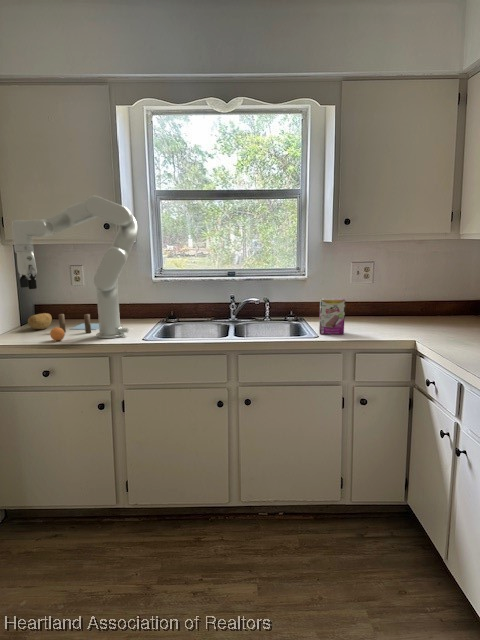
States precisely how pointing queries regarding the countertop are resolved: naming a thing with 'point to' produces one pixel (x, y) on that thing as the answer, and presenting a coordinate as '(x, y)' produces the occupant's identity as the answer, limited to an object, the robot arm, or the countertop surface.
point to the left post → (62, 322)
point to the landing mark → (82, 326)
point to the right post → (87, 323)
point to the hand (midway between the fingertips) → (28, 288)
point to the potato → (40, 321)
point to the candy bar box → (332, 316)
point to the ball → (57, 333)
